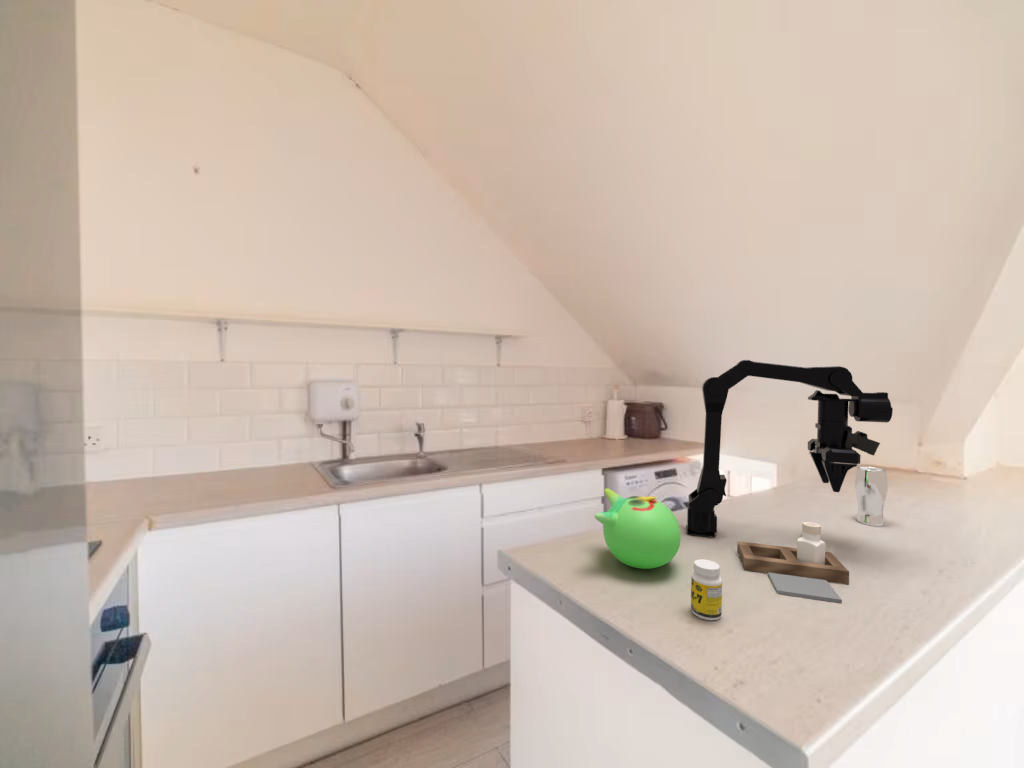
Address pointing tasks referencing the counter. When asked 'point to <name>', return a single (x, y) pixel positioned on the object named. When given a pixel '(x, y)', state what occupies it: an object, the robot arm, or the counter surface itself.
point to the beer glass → (871, 494)
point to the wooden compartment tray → (789, 562)
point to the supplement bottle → (706, 590)
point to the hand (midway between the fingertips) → (830, 487)
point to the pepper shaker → (811, 544)
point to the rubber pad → (803, 587)
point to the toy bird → (640, 530)
